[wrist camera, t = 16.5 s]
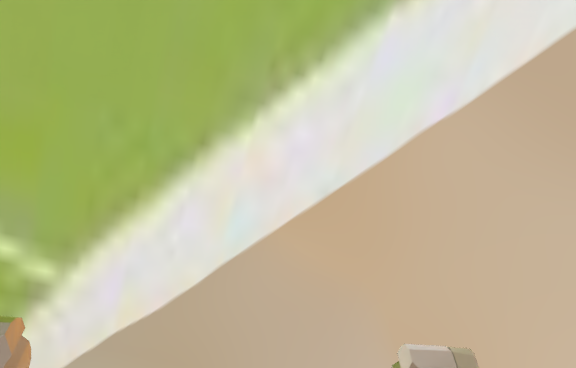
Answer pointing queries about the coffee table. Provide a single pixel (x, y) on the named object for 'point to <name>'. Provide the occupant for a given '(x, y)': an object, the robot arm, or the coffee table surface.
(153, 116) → the coffee table surface
